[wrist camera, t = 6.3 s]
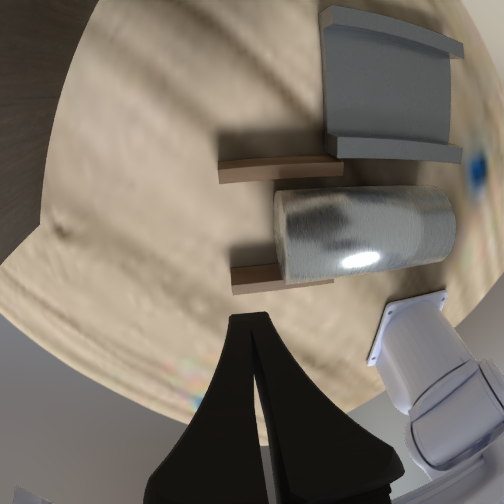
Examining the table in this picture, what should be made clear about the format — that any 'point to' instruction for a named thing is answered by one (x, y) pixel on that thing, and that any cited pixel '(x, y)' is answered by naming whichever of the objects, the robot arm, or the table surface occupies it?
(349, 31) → the cradle
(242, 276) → the brown piece
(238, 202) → the table surface
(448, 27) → the table surface
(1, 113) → the wood block
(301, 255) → the grey metal cylinder
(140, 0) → the table surface
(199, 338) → the table surface
